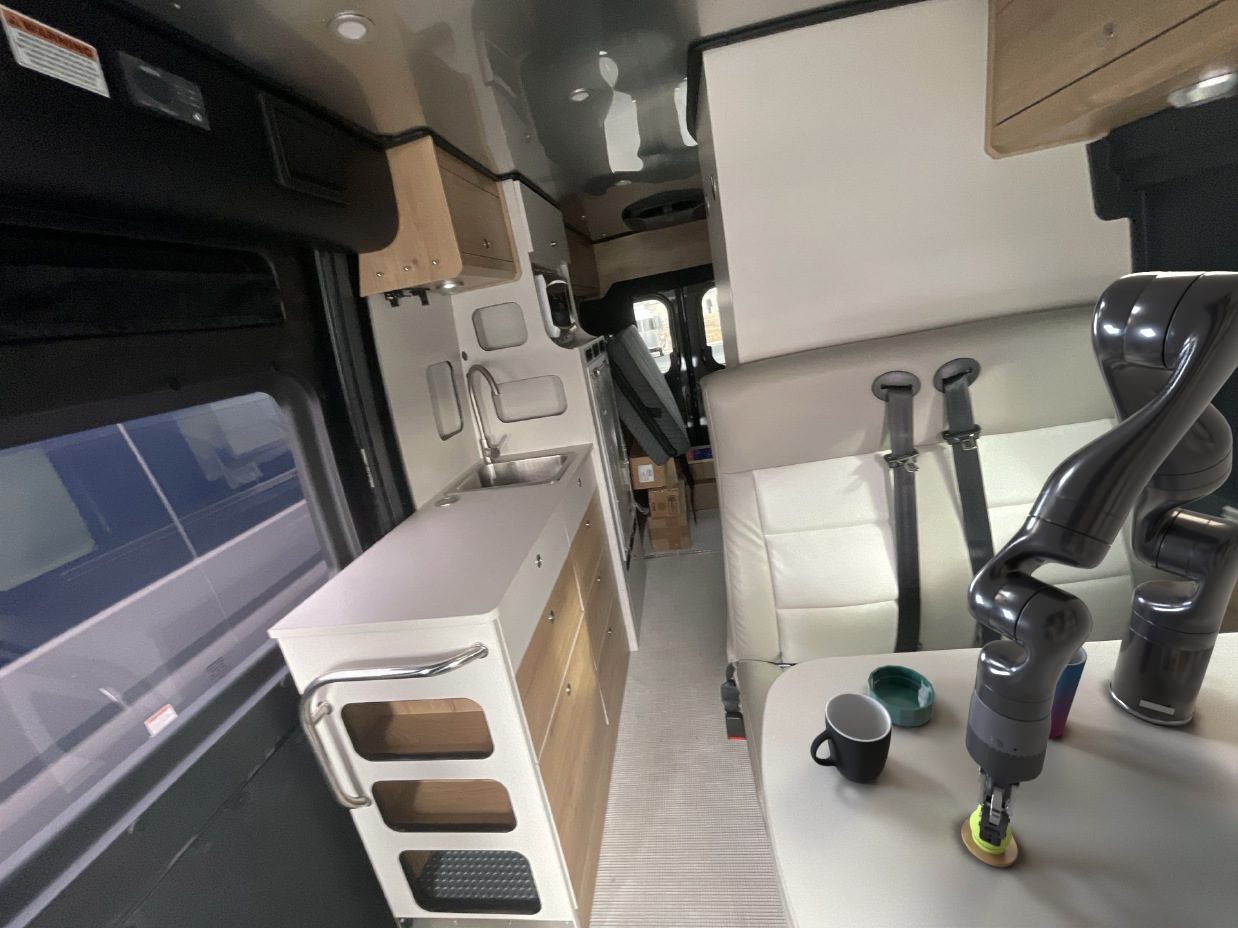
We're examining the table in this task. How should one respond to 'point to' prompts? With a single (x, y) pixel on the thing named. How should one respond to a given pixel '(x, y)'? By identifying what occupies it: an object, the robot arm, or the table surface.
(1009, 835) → the pear
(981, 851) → the coaster
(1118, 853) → the table surface
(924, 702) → the bowl
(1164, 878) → the table surface
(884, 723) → the mug
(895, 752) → the table surface
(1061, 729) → the cup
